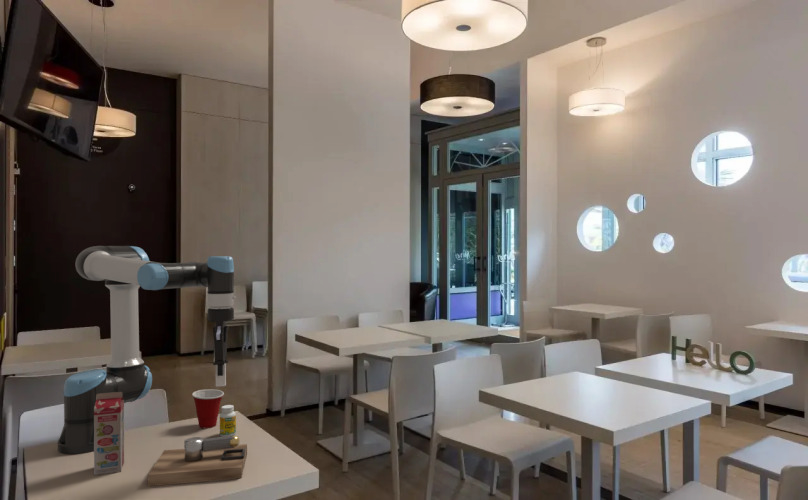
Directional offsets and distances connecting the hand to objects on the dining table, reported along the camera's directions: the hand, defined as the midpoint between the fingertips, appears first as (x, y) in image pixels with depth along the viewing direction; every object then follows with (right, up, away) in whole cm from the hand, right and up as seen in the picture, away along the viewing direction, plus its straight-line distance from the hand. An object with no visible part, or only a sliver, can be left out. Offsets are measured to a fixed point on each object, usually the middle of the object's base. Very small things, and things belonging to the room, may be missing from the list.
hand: (220, 385), depth 160 cm
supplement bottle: (-5, -23, +22) cm, 32 cm away
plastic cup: (-15, -23, +31) cm, 42 cm away
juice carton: (-30, -23, -6) cm, 38 cm away
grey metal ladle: (-1, -19, -5) cm, 20 cm away
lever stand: (-3, -22, -7) cm, 23 cm away
